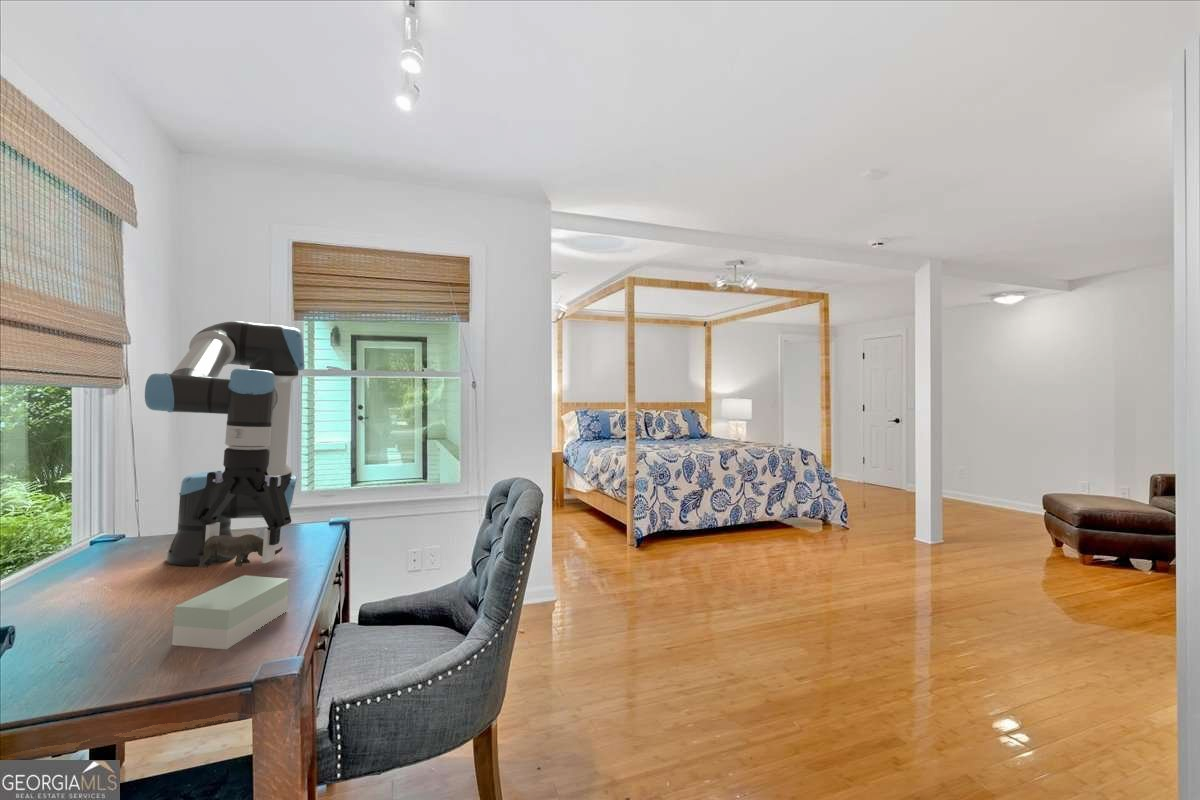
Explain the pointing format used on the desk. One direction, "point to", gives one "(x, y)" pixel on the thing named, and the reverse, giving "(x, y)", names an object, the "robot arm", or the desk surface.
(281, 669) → the desk surface
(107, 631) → the desk surface
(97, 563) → the desk surface
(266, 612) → the block
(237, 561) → the rhino figurine
